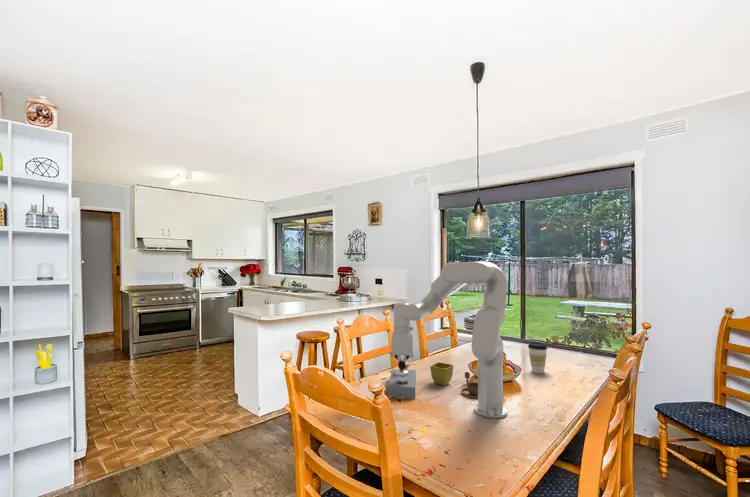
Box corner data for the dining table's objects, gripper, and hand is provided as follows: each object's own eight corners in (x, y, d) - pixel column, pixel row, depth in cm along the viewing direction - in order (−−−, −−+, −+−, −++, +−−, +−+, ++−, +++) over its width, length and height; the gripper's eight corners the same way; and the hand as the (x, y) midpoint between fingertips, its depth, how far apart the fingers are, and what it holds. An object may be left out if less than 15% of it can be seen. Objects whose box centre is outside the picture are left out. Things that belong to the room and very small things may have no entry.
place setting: (451, 396, 160) (451, 382, 161) (464, 383, 177) (464, 371, 178) (491, 403, 151) (491, 389, 152) (500, 389, 169) (500, 377, 169)
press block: (415, 399, 155) (415, 387, 155) (387, 397, 156) (387, 386, 157) (415, 379, 181) (415, 370, 181) (392, 379, 182) (392, 369, 183)
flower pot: (446, 388, 169) (446, 368, 170) (429, 384, 174) (429, 365, 175) (454, 383, 176) (453, 364, 177) (438, 379, 181) (438, 361, 182)
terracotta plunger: (409, 377, 172) (409, 364, 173) (397, 377, 173) (397, 364, 173) (409, 373, 178) (409, 361, 179) (397, 373, 179) (397, 360, 179)
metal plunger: (408, 387, 159) (408, 373, 159) (395, 386, 159) (395, 372, 160) (408, 383, 165) (408, 369, 165) (396, 382, 165) (396, 368, 166)
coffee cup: (524, 370, 198) (523, 343, 199) (536, 368, 202) (536, 341, 203) (539, 375, 189) (538, 346, 190) (551, 372, 193) (551, 345, 194)
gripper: (418, 328, 166) (418, 368, 165) (386, 327, 168) (386, 366, 167) (418, 331, 158) (418, 373, 158) (385, 330, 160) (384, 371, 159)
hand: (401, 369), depth 162 cm, fingers closed
